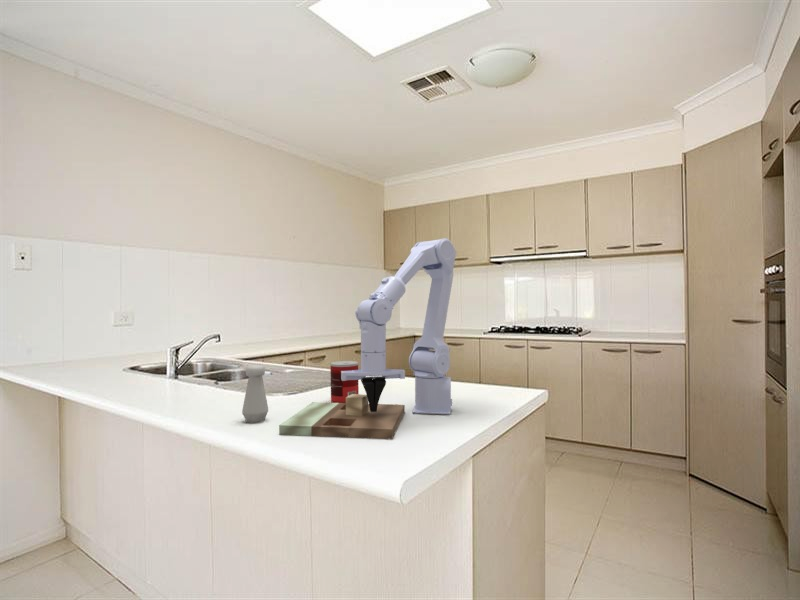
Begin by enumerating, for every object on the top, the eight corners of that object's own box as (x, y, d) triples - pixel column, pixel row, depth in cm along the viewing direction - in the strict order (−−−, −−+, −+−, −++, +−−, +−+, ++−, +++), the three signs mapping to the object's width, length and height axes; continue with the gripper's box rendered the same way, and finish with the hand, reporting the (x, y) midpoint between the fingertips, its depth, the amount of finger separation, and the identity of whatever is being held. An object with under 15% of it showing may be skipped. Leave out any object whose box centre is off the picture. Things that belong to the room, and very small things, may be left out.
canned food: (361, 399, 129) (360, 360, 129) (355, 405, 121) (354, 364, 121) (335, 398, 129) (335, 360, 130) (327, 404, 122) (327, 364, 122)
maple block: (368, 411, 105) (368, 394, 105) (362, 416, 102) (361, 398, 102) (352, 410, 107) (352, 394, 107) (345, 414, 103) (345, 397, 103)
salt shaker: (261, 416, 109) (261, 363, 109) (272, 420, 105) (272, 365, 105) (237, 420, 105) (238, 365, 105) (249, 425, 101) (249, 368, 101)
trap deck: (404, 412, 113) (404, 404, 113) (392, 439, 91) (392, 429, 91) (312, 409, 116) (312, 402, 116) (279, 434, 94) (279, 425, 94)
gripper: (400, 349, 108) (400, 405, 108) (340, 350, 105) (340, 408, 105) (407, 352, 101) (407, 412, 101) (342, 353, 98) (342, 415, 98)
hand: (373, 410), depth 103 cm, fingers closed
